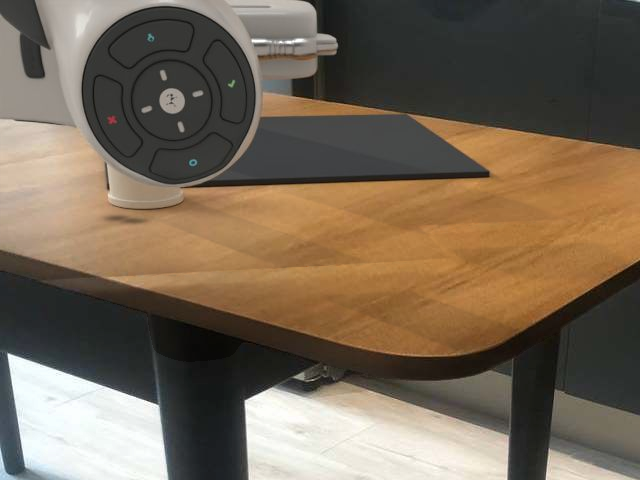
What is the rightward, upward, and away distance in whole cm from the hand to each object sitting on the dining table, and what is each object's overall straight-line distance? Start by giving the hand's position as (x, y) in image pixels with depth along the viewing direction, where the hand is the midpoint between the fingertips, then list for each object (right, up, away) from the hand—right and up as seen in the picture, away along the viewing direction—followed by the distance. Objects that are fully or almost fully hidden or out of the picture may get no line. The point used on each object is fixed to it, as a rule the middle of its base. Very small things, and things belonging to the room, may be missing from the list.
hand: (137, 24), depth 68 cm
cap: (-5, -5, +21) cm, 22 cm away
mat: (+4, +6, +40) cm, 40 cm away
